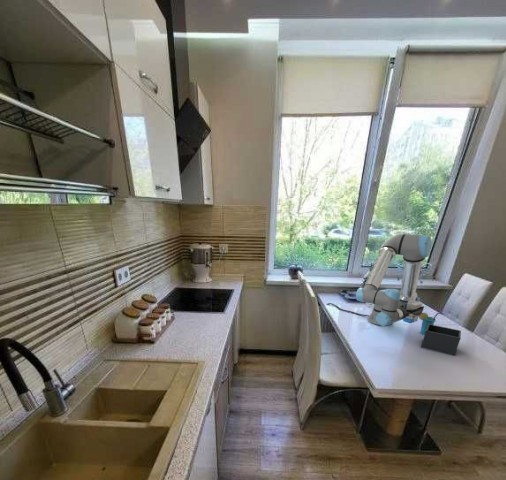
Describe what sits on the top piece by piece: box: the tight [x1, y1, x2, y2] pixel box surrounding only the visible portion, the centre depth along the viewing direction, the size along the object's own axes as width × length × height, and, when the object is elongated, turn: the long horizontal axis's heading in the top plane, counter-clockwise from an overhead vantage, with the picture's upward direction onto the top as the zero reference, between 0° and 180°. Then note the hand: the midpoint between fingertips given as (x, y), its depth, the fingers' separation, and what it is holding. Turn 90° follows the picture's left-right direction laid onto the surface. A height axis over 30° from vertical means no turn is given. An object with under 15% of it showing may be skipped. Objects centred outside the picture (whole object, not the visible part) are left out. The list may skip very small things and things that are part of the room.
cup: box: [418, 312, 445, 336], centre depth 179 cm, size 14×8×15 cm, turn 84°
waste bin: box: [420, 324, 462, 356], centre depth 161 cm, size 17×13×11 cm
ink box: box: [402, 296, 424, 324], centre depth 165 cm, size 8×5×15 cm, turn 123°
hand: (418, 307), depth 168 cm, fingers closed on ink box, 5 cm apart
